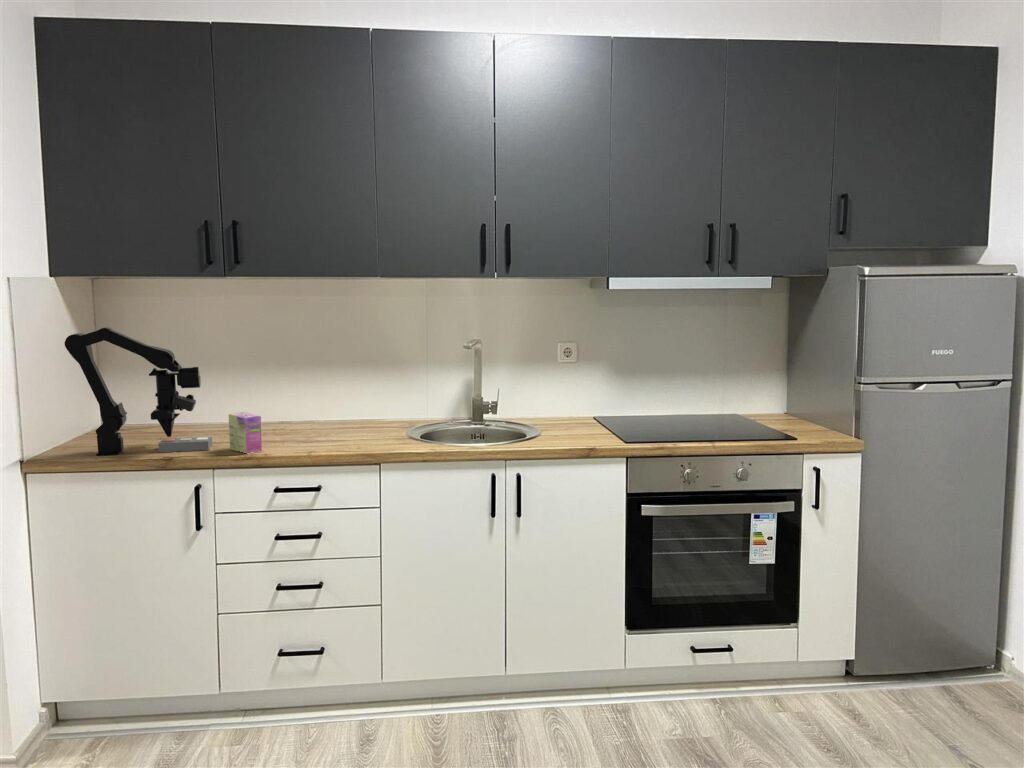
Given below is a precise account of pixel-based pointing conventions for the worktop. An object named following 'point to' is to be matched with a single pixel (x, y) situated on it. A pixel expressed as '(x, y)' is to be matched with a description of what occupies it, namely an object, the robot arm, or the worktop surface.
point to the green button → (185, 439)
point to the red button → (169, 440)
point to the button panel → (184, 445)
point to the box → (245, 432)
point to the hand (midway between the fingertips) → (169, 436)
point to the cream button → (202, 438)
